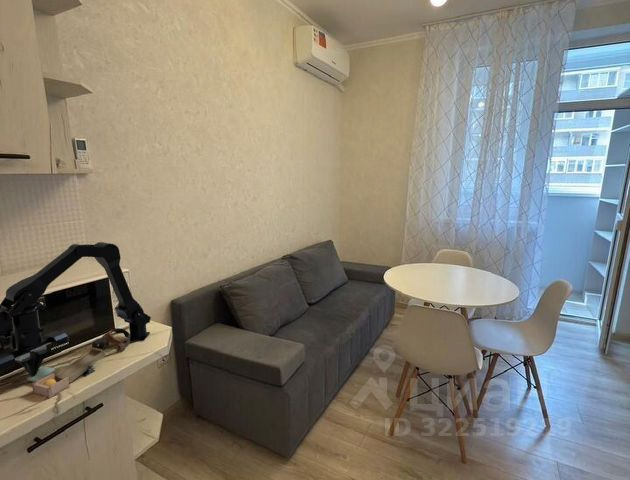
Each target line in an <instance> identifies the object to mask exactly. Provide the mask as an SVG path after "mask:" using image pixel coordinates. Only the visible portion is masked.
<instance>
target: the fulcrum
mask: <svg viewBox="0 0 630 480" xmlns="http://www.w3.org/2000/svg"><path fill="white" fill-rule="evenodd" d="M93 373H96V370H95V369H93V367H92V368H89V369H87V370H86V371H85V372H83V373H82V374H81V375H80V376H83V377H88V376H89V375H91V374H93Z"/></svg>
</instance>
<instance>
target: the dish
mask: <svg viewBox="0 0 630 480" xmlns="http://www.w3.org/2000/svg"><path fill="white" fill-rule="evenodd" d="M48 379H54V380H55V381H56V379H55V376H54V374H51V375H49V376H47V377H45V378H43V379H41V380H39V381H37V382H33V383H31V386H32V394H34V395H37V396H40V397H44V398H47V399H50V398H51V399H52V398H53V397H54V396H56V395H58V394H60V393H62V392H64V391H65V390H67V389H69V388H70V387H71V386H70V383H69V378H68V377H66V378H64V379H63V380H58V381H56V383H55V384H53V385H51V386H46V385H43V383H44V382H45V381H46V380H48Z"/></svg>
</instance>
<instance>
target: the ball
mask: <svg viewBox="0 0 630 480" xmlns="http://www.w3.org/2000/svg"><path fill="white" fill-rule="evenodd" d="M56 382H57V381H56V379H55V380H54V379H48V380H46V381H45V382H44V383H43V385H46V386H51V385H53V384H55V383H56Z"/></svg>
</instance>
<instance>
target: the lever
mask: <svg viewBox="0 0 630 480" xmlns="http://www.w3.org/2000/svg"><path fill="white" fill-rule="evenodd" d="M105 356H106V353H105V350H102V349H97V348H92V347H91V349H90V350H88V351H86V353H84V354H83V355H81V356H80V357H78V358H77V359H76V360H75V361H73V362H72V363H70V364H69V365H68V366H66V367H65V368H64V369H62V370H56V369H55V368H53V367H50V366H46V365H45V366H43V367H41V368H39V370H38V372H37V374H36V375H35V376H33V377H31V376H30V375H29V376H28V377H26V379H27V381H30V382H33V383H35V382H37V381H39V380H41V379H43V378H45V377H47V376H49V375H51V374H54V376H55V380H58V381H61V380H63V379H64V378H66V377H68V378H69V384H71V383H72V382H73V381H75V380H76V379H77V378H79V376H82V375H81V374H82V373H83V372H85V371H86V370H87V369H89V368H92V369H93V367H94V365H95V364H96V363H97V362H99V361H101V360H102V359H103V358H104V357H105Z"/></svg>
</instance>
